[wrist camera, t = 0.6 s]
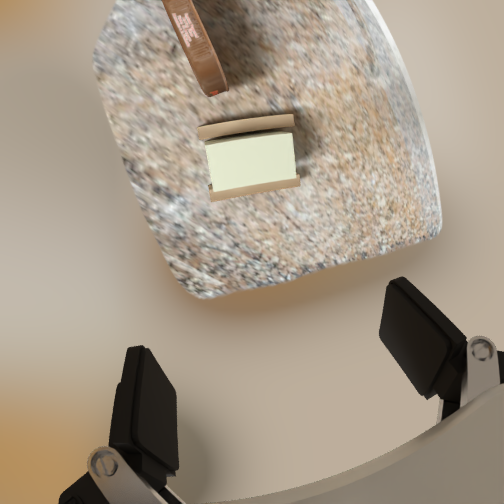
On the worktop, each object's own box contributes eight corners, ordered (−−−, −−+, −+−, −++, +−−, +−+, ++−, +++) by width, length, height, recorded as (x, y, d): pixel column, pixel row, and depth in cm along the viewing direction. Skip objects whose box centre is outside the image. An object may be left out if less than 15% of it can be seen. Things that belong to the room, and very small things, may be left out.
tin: (227, 93, 28) (236, 84, 21) (203, 103, 28) (203, 96, 21) (185, -1, 21) (183, -31, 14) (161, 8, 21) (152, -21, 14)
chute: (197, 127, 30) (197, 127, 27) (286, 114, 31) (293, 113, 28) (210, 196, 34) (211, 202, 32) (294, 181, 35) (300, 186, 33)
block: (204, 141, 31) (205, 145, 25) (276, 130, 32) (292, 132, 26) (211, 180, 33) (213, 192, 28) (281, 168, 34) (296, 178, 29)
